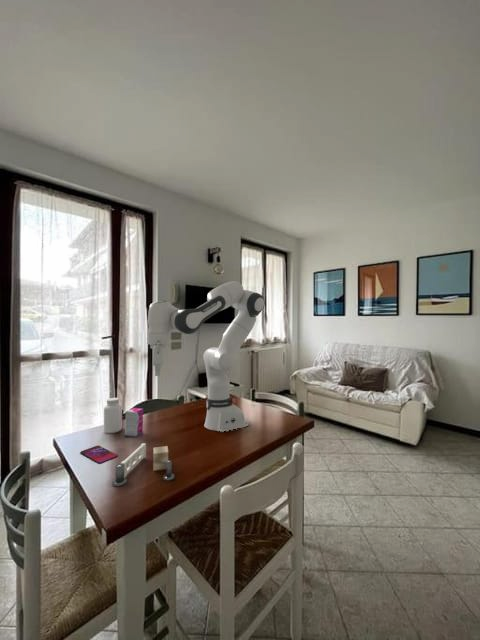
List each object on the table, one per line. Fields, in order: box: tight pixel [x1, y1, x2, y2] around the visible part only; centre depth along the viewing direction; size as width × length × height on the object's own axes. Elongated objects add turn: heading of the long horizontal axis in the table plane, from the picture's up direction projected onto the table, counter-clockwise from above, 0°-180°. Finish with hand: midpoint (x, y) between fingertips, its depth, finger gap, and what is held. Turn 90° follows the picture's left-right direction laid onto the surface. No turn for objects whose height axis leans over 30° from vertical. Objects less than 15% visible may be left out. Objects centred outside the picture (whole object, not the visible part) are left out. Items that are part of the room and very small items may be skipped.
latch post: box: [162, 459, 175, 482], centre depth 94 cm, size 4×4×6 cm
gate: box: [120, 442, 147, 478], centre depth 101 cm, size 15×1×5 cm, turn 172°
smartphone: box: [79, 445, 119, 465], centre depth 110 cm, size 8×1×15 cm
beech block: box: [152, 445, 169, 472], centre depth 102 cm, size 5×5×6 cm
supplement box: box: [124, 407, 144, 438], centre depth 130 cm, size 6×6×12 cm
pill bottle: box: [103, 397, 123, 434], centre depth 135 cm, size 8×8×15 cm
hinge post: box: [111, 463, 128, 487], centre depth 91 cm, size 4×4×6 cm
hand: (157, 373), depth 115 cm, fingers open, 8 cm apart
